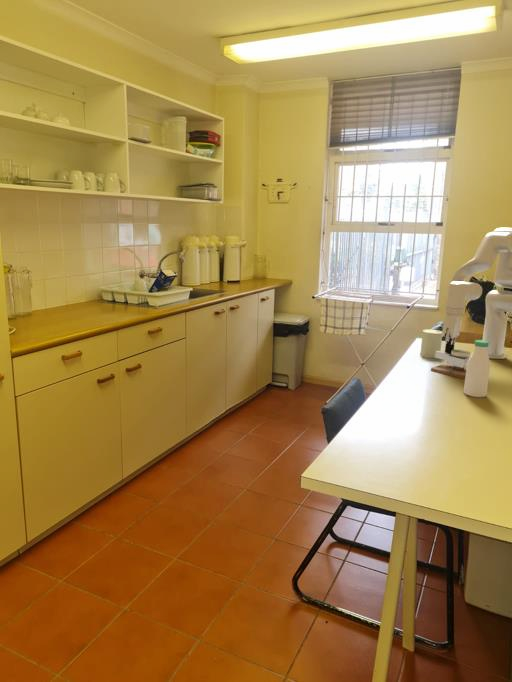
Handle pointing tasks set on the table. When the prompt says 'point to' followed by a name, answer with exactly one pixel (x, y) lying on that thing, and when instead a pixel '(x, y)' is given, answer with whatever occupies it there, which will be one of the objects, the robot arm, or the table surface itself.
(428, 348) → the can
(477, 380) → the milk bottle
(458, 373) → the post base
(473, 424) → the table surface
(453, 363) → the coupling
